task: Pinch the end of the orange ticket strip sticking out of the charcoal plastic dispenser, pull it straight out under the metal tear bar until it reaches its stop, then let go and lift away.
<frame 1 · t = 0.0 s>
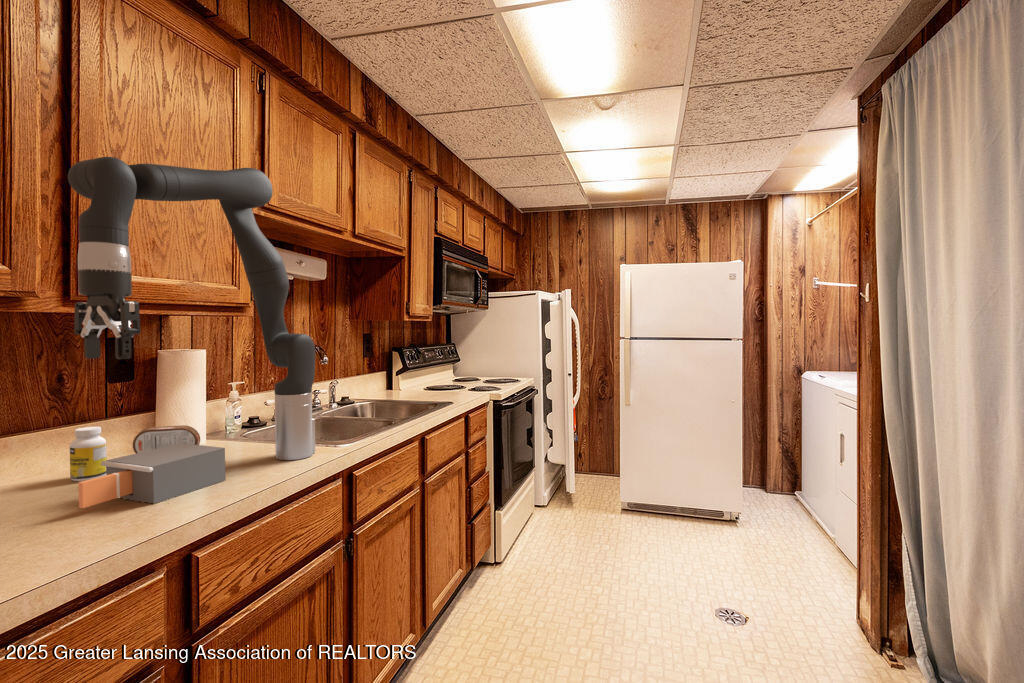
hand: (107, 358, 90), 29 cm above the worktop, tool pointing down, fingers open, 8 cm apart
ticket: (132, 481, 100), point 4 cm above the worktop, slide at 0.0 cm
dispenser: (169, 487, 107), on the worktop
tin: (167, 458, 133), on the worktop
pill bottle: (89, 478, 115), on the worktop
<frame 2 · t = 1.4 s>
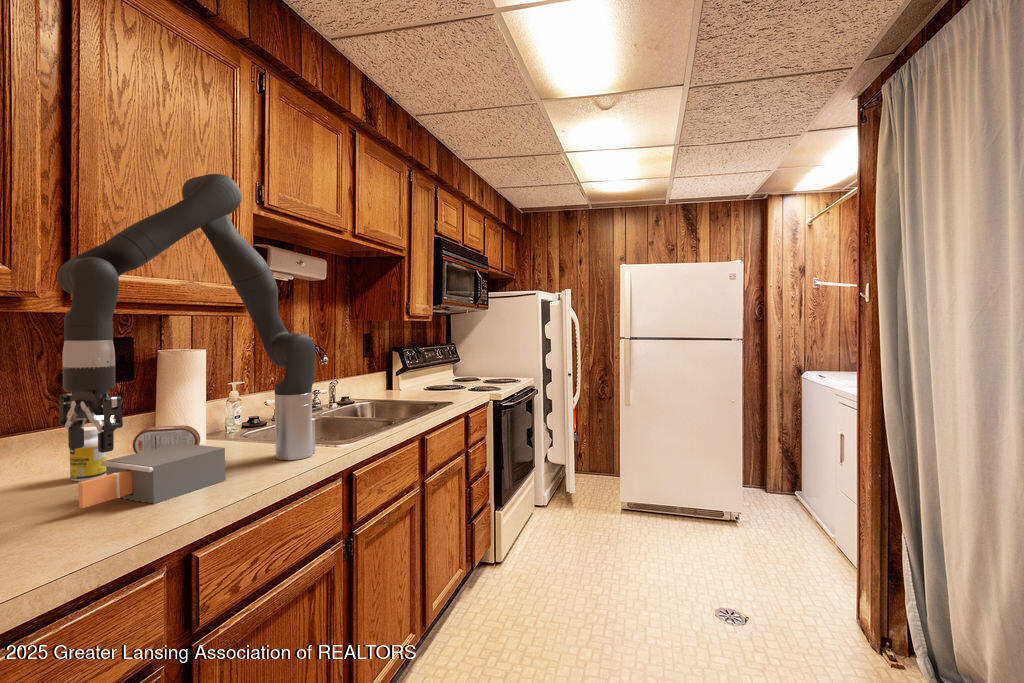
hand: (90, 450, 93), 12 cm above the worktop, tool pointing down, fingers open, 8 cm apart
nothing on the worktop moved.
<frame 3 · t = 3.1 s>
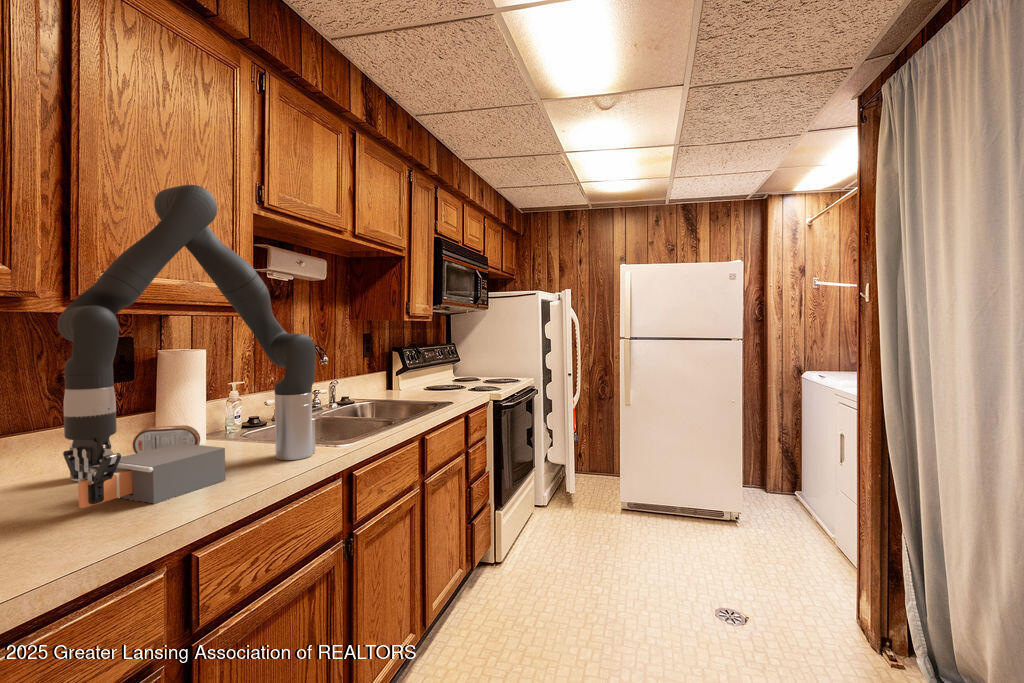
hand: (93, 501, 94), 2 cm above the worktop, tool pointing down, fingers closed
ticket: (132, 481, 100), point 4 cm above the worktop, slide at 0.0 cm, touching gripper
everything else where it was.
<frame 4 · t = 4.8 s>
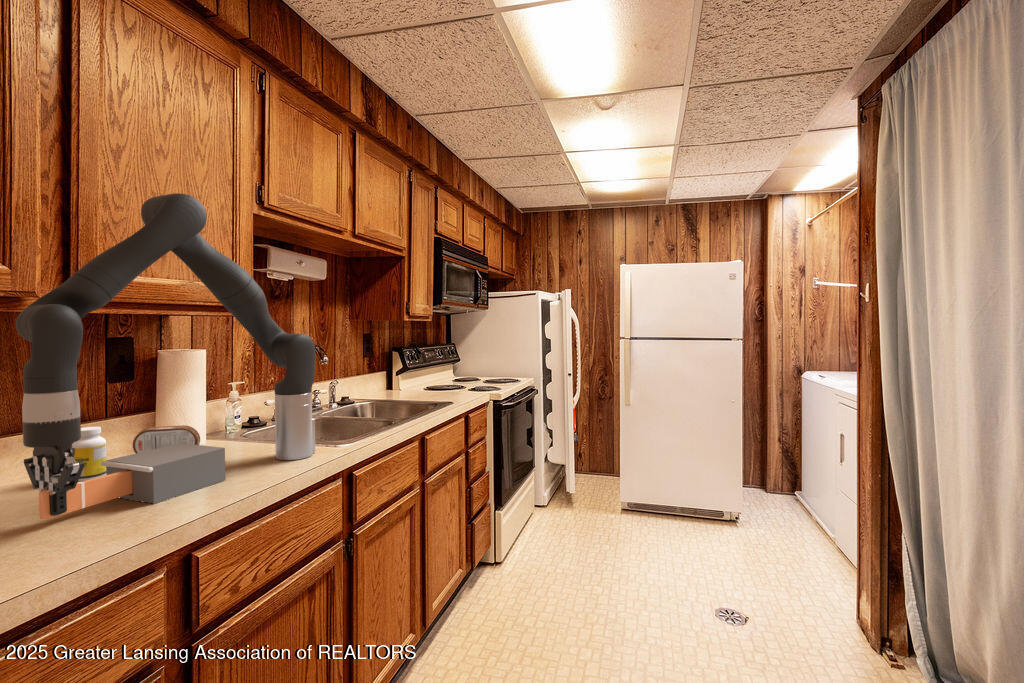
hand: (55, 513, 88), 2 cm above the worktop, tool pointing down, fingers closed
ticket: (99, 490, 94), point 4 cm above the worktop, slide at 6.0 cm, touching gripper
everything else where it was.
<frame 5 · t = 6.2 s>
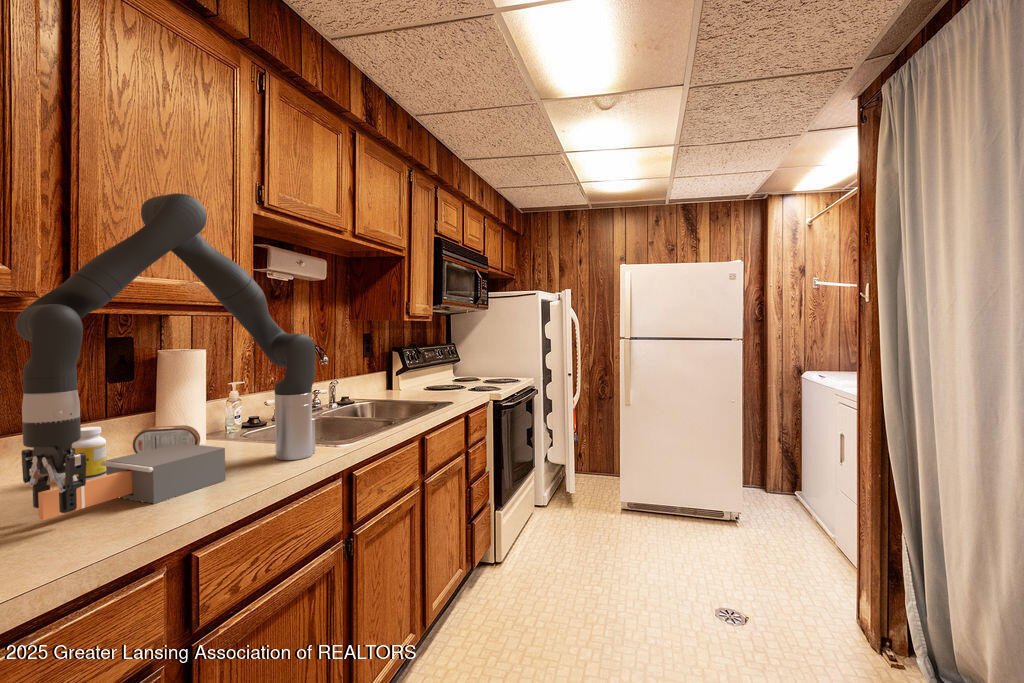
hand: (54, 508, 88), 3 cm above the worktop, tool pointing down, fingers open, 7 cm apart
ticket: (98, 490, 94), point 4 cm above the worktop, slide at 6.0 cm
everything else where it was.
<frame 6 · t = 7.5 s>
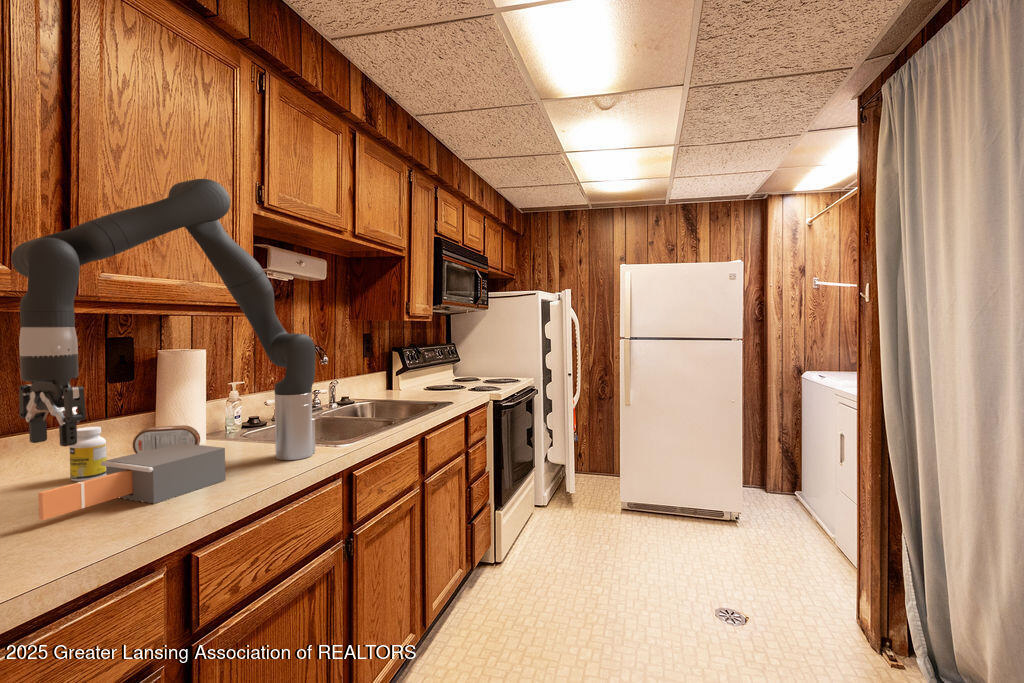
hand: (53, 443, 88), 14 cm above the worktop, tool pointing down, fingers open, 8 cm apart
nothing on the worktop moved.
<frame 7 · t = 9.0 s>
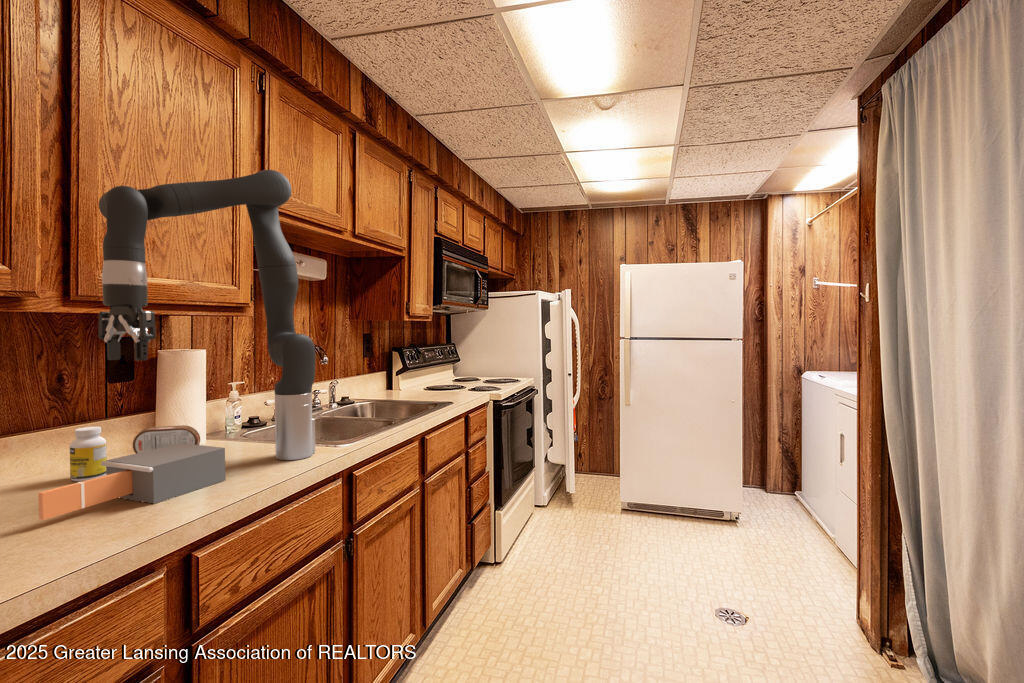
hand: (127, 360, 105), 28 cm above the worktop, tool pointing down, fingers open, 8 cm apart
nothing on the worktop moved.
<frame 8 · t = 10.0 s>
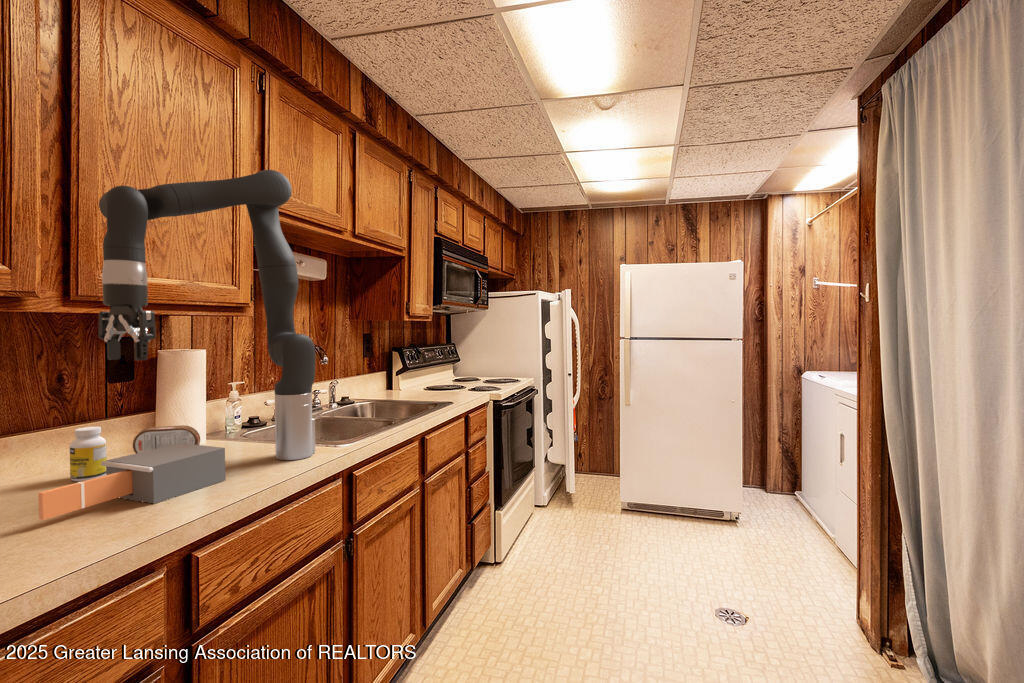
hand: (127, 359, 105), 28 cm above the worktop, tool pointing down, fingers open, 8 cm apart
nothing on the worktop moved.
at the end: ticket slide at 6.0 cm; the gripper is holding nothing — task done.
